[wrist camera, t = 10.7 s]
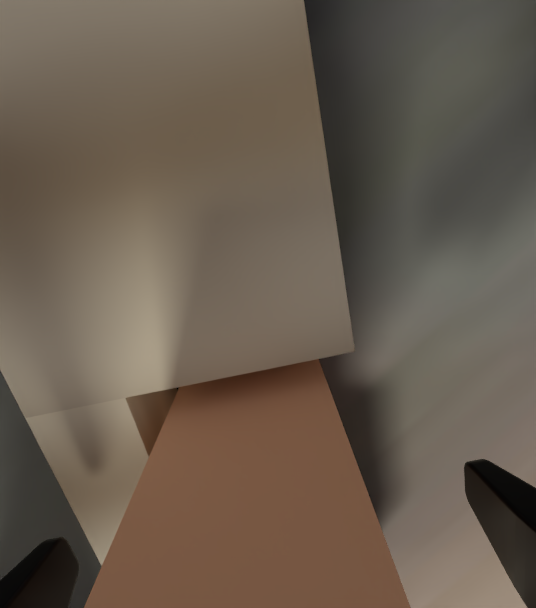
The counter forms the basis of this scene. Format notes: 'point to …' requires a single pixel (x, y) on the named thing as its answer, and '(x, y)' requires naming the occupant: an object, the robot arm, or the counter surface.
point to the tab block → (251, 506)
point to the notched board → (155, 221)
